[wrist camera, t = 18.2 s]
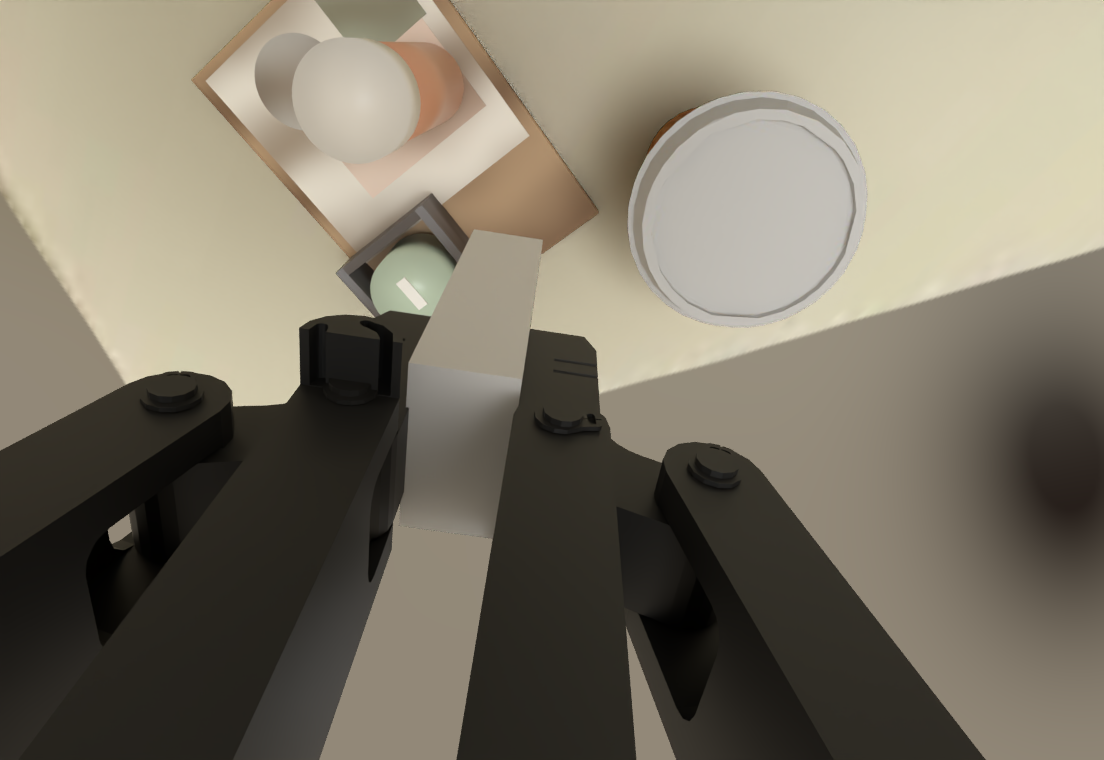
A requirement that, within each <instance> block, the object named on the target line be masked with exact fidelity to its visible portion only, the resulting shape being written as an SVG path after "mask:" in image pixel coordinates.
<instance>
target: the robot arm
mask: <svg viewBox="0 0 1104 760" xmlns="http://www.w3.org/2000/svg"><path fill="white" fill-rule="evenodd" d="M542 244H543V240H541V239H534V238H528V237H521V236H515V235H508V234H502V233H495V232H489V231H482V230H476V229H474V230H473V232H472V234H471V236H470V238H469V240H468V242H467V244H466V247H465V249H464V251H463V253H462V255H461V257H460V259H459V261H458V263H457V265H456V267H455V269H454V271H453V273H452V275H451V277H450V279H449V281H448V283H447V285H446V287H445V289H444V291H443V293H442V295H441V297H440V300H439V302H438V304H437V306H436V308H435V310H434V312H433V314H432V316H425V315H418V314H411V313H405V312H398V311H391V310H390V311H388V312H385V313H383V314H381V315H379V316H377V317H375V318H371V317H367V316H357V315H336V316H326V317H322V318H319V319H315V320H311V321H309V322H308V323H306V324H305V325H303V326H301V327H300V328H299V338H300V386H299V387H298V388H297V390H296V391H295V392H294V394H293V395H292V396H291V398H290V399H289V400H288V402H287V403H285V404H278V405H267V406H237V407H233V400H232V390H231V389H230V388H229V387H228V385H227V384H226V383H225V382H224V381H222V380H219V379H217V378H215V377H213V376H210V375H204V374H198V373H194V372H186V371H181V373H179V371H174V372H165V373H163V374H159V375H154V376H148V377H145V378H142V379H140V380H137V381H134V382H132V383H129V384H127V385H125V386H123V387H121V388H119V389H117V390H115V391H113V392H112V393H110V394H108V395H106V396H104V397H102V398H100V399H98V400H96V401H94V402H93V403H91V404H89V405H87V406H85V407H83V408H81V409H79V410H78V411H76V412H74V413H71V414H70V415H68V416H66V417H64V418H62V419H60V420H58V421H56V422H54V423H52V424H50V425H49V426H47V427H45V428H43V429H41V430H39V431H37V432H35V433H33V434H31V435H29V436H28V437H26V438H24V439H22V440H20V441H18V442H16V443H14V444H12V445H10V446H9V447H7V448H5V449H3V450H1V451H0V760H319V758H320V755H321V752H322V749H323V747H324V744H325V741H326V738H327V735H328V732H329V729H330V726H331V723H332V721H333V718H334V715H335V712H336V709H337V706H338V703H339V700H340V697H341V695H342V692H343V689H344V686H345V683H346V680H347V677H348V674H349V671H350V668H351V665H352V662H353V660H354V657H355V654H356V651H357V648H358V645H359V642H360V639H361V636H362V633H363V631H364V627H365V625H366V622H367V619H368V616H369V613H370V610H371V608H372V604H373V601H374V599H375V596H376V593H377V590H378V587H379V584H380V581H381V579H382V576H383V573H384V570H385V567H386V564H387V561H388V558H389V555H390V552H391V549H392V530H393V520H394V518H395V515H396V512H397V509H398V507H399V504H400V517H399V526H404V527H411V528H418V529H426V530H433V531H440V532H448V533H454V534H462V535H470V536H477V537H484V538H492V539H493V541H492V548H491V554H490V560H489V566H488V572H487V578H486V584H485V590H484V596H483V602H482V609H481V614H480V620H479V626H478V633H477V639H476V645H475V651H474V657H473V663H472V670H471V675H470V681H469V687H468V693H467V699H466V706H465V712H464V718H463V724H462V730H461V736H460V742H459V748H458V754H457V760H636V751H635V737H634V725H633V712H632V699H631V687H630V675H629V661H628V649H627V636H626V627H627V630H628V633H629V635H630V638H631V641H632V643H633V646H634V648H635V651H636V654H637V656H638V659H639V662H640V664H641V667H642V670H643V672H644V675H645V678H646V680H647V683H648V685H649V688H650V691H651V694H652V696H653V699H654V701H655V704H656V707H657V710H658V712H659V715H660V718H661V720H662V723H663V726H664V728H665V731H666V733H667V736H668V739H669V741H670V744H671V747H672V749H673V752H674V755H675V757H676V760H985V758H984V757H983V756H982V755H981V753H980V752H979V751H978V749H977V748H976V747H975V746H974V744H973V743H972V742H971V740H970V739H969V738H968V737H967V735H966V734H965V733H964V731H963V730H962V729H961V728H960V726H959V725H958V724H957V722H956V721H955V720H954V719H953V717H952V716H951V715H950V713H949V712H948V711H947V710H946V708H945V707H944V706H943V705H942V703H941V702H940V701H939V699H938V698H937V697H936V695H935V694H934V693H933V692H932V690H931V689H930V688H929V686H928V685H927V684H926V683H925V681H924V680H923V679H922V677H921V676H920V675H919V674H918V672H917V671H916V670H915V668H914V667H913V666H912V665H911V663H910V662H909V661H908V660H907V658H906V657H905V656H904V654H903V653H902V652H901V650H900V649H899V648H898V647H897V645H896V644H895V643H894V641H893V640H892V639H891V638H890V636H889V635H888V634H887V632H886V631H885V630H884V629H883V627H882V626H881V625H880V623H879V622H878V621H877V620H876V618H875V617H874V616H873V614H872V613H871V612H870V611H869V609H868V608H867V607H866V606H865V604H864V603H863V602H862V600H861V599H860V598H859V596H858V595H857V594H856V593H855V591H854V590H853V589H852V587H851V586H850V585H849V584H848V582H847V581H846V580H845V578H844V577H843V576H842V575H841V573H840V572H839V571H838V569H837V568H836V567H835V566H834V565H833V563H832V562H831V560H830V559H829V558H828V557H827V555H826V554H825V553H824V551H823V550H822V549H821V548H820V546H819V545H818V544H817V542H816V541H815V540H814V539H813V538H812V536H811V535H810V533H809V532H808V531H807V530H806V528H805V527H804V526H803V524H802V523H801V522H800V521H799V519H798V518H797V517H796V515H795V514H794V513H793V512H792V510H791V509H790V508H789V507H788V505H787V504H786V503H785V501H784V500H783V499H782V497H781V496H780V495H779V494H778V492H777V491H776V490H775V488H774V487H773V486H772V485H771V483H770V482H769V481H768V479H767V478H766V477H765V476H764V474H763V473H762V472H761V471H760V470H759V469H758V468H757V467H756V466H755V465H754V464H753V463H752V462H751V461H750V460H748V459H746V458H745V457H743V456H741V455H739V454H737V453H736V452H734V451H733V450H731V449H729V448H726V447H720V445H715V444H711V443H708V444H706V443H698V442H691V443H683V444H678V445H676V446H674V447H672V448H670V449H669V450H667V452H666V455H665V457H664V458H663V461H662V463H660V462H657V461H655V460H652V459H649V458H646V457H643V456H640V455H638V454H635V453H633V452H631V451H628V450H627V449H625V448H623V447H622V446H620V445H618V444H617V443H615V442H614V441H613V440H612V439H611V434H610V427H609V425H608V422H607V420H606V418H605V417H604V416H603V415H601V414H600V405H599V389H598V379H597V377H598V373H597V357H596V350H595V349H594V348H593V347H592V345H591V344H590V343H589V342H588V341H587V340H586V339H585V337H581V336H574V335H567V334H561V333H554V332H547V331H540V330H534V329H530V326H531V320H532V313H533V306H534V299H535V292H536V285H537V278H538V271H539V264H540V258H541V251H542ZM128 514H129V517H130V523H131V529H132V532H131V533H129V534H128V535H127V536H125V537H124V538H123V539H122V540H120V541H118V542H116V543H113V544H111V542H110V541H109V535H108V529H109V528H110V527H111V526H113V525H114V524H115V523H117V522H118V521H119V520H121V519H122V518H124V517H125V516H126V515H128Z"/></svg>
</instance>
